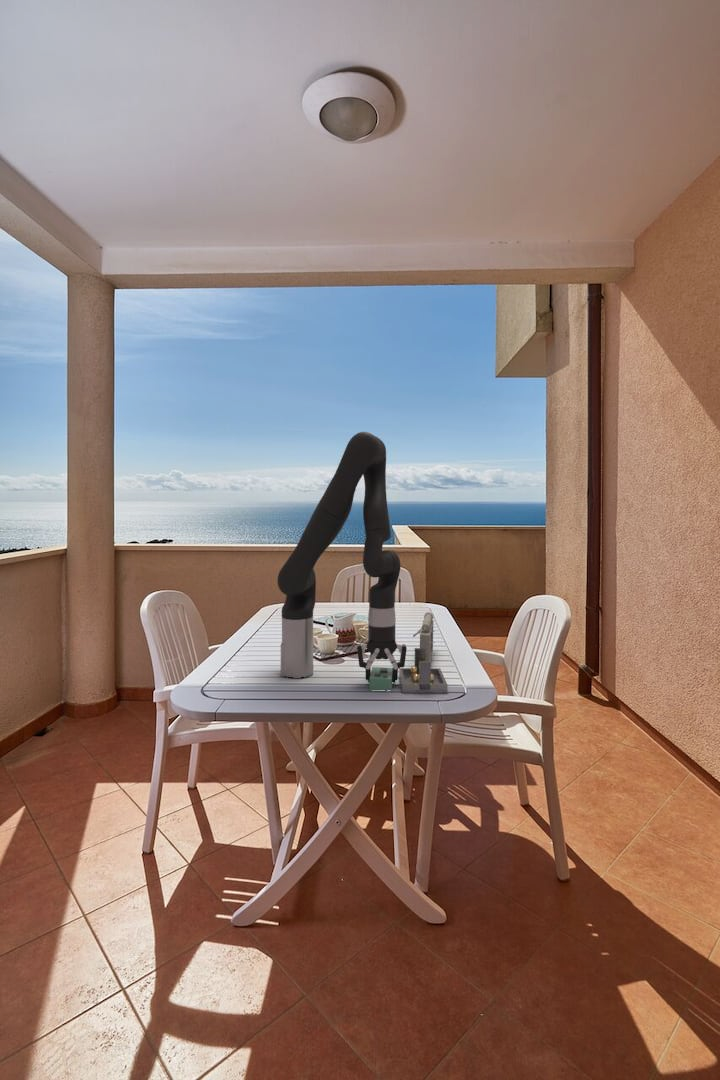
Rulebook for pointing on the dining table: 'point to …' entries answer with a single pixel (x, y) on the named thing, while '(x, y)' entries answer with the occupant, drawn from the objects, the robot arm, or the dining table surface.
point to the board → (381, 678)
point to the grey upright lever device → (427, 636)
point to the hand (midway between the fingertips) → (381, 681)
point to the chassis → (422, 676)
